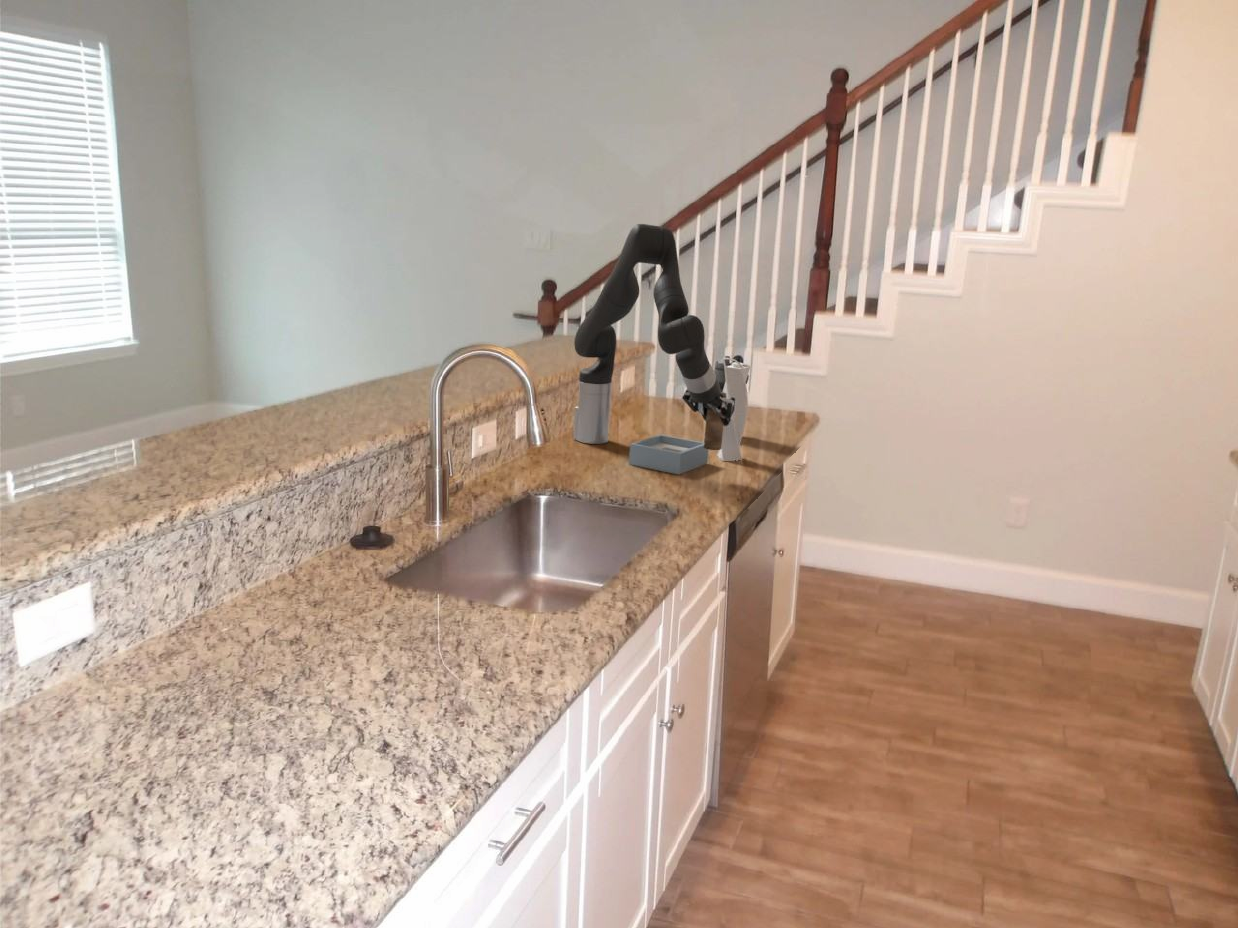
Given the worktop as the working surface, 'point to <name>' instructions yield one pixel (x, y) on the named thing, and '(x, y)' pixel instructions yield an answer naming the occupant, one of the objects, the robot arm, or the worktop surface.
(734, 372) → the skyscraper
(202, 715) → the worktop surface
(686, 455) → the box
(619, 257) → the robot arm
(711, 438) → the peg
